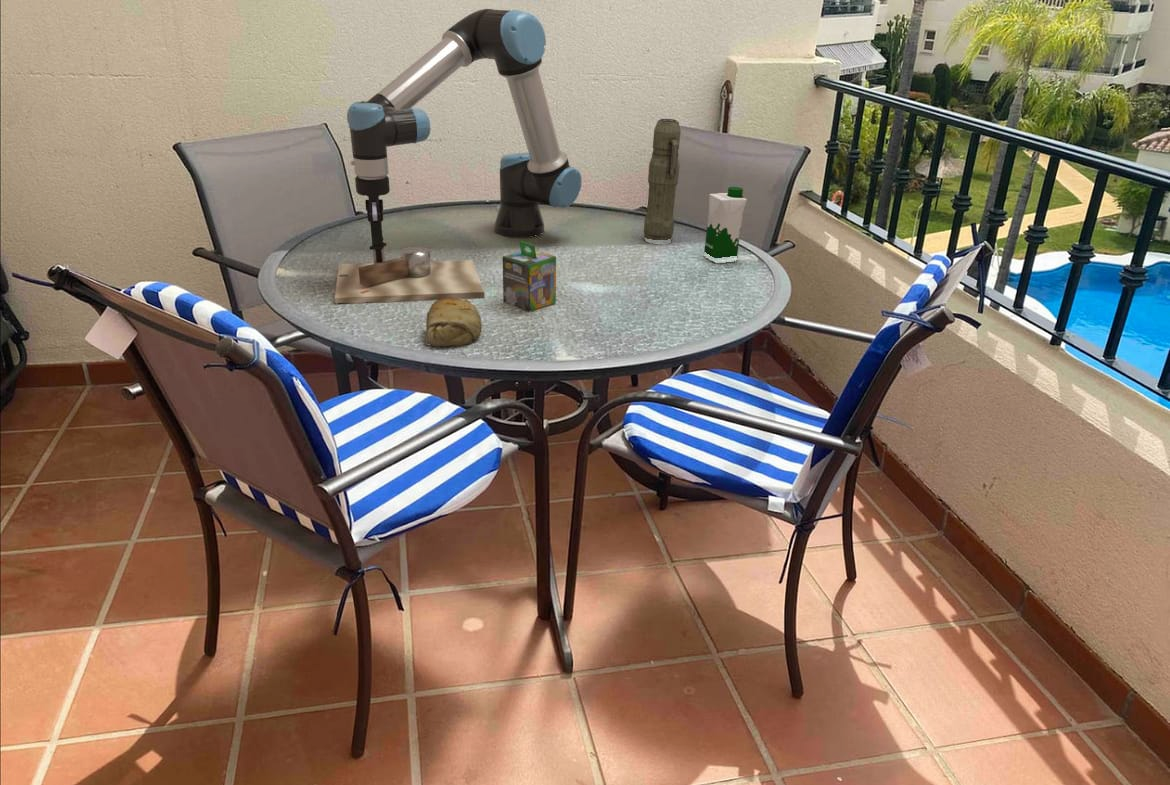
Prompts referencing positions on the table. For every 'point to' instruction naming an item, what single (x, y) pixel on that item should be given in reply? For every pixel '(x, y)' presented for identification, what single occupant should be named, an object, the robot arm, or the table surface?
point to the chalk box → (529, 278)
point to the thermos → (662, 180)
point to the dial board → (411, 284)
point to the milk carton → (724, 223)
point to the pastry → (452, 323)
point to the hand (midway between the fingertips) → (380, 273)
